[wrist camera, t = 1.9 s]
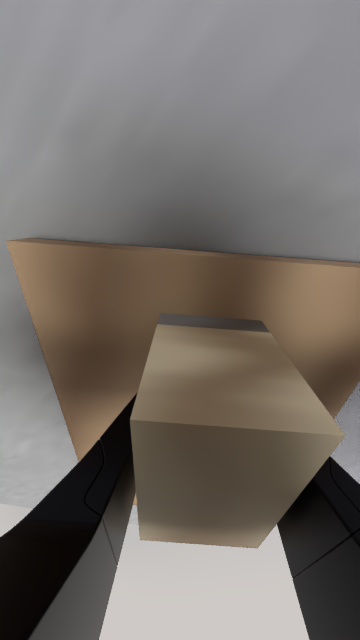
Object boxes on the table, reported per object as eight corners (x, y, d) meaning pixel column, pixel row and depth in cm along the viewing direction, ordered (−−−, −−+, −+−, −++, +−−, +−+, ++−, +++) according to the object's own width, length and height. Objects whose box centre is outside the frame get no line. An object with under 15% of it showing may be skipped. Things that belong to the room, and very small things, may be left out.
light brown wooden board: (401, 266, 8) (434, 273, 7) (263, 497, 19) (268, 514, 17) (29, 237, 8) (5, 240, 7) (97, 485, 18) (91, 502, 17)
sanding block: (261, 320, 8) (346, 435, 4) (230, 422, 12) (257, 548, 7) (160, 313, 8) (129, 420, 4) (157, 417, 12) (139, 539, 7)
